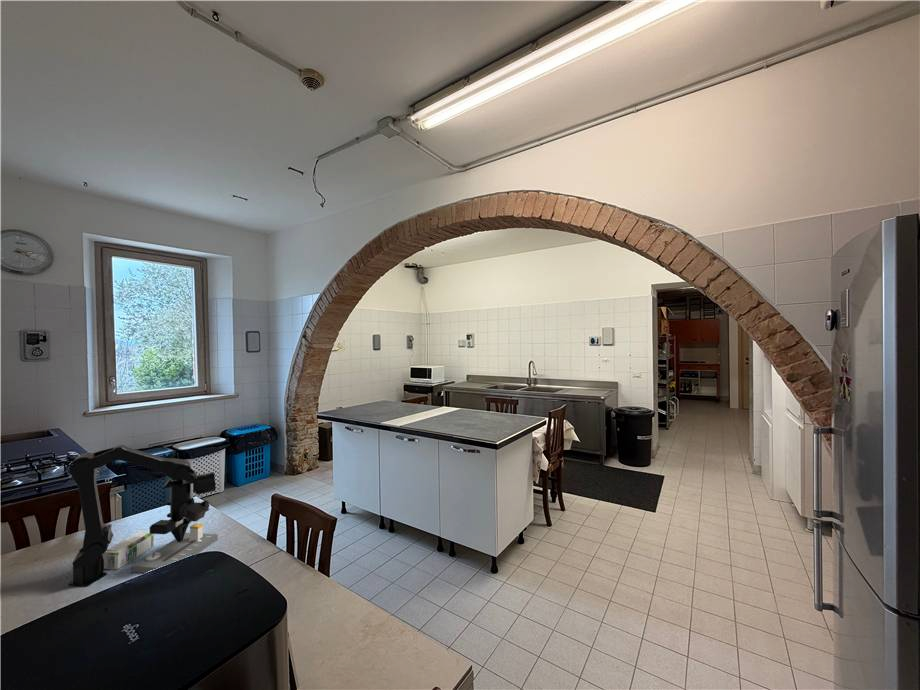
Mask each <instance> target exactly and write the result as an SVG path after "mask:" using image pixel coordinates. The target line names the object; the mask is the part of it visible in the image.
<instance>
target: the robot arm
mask: <svg viewBox="0 0 920 690" xmlns="http://www.w3.org/2000/svg"><path fill="white" fill-rule="evenodd" d="M116 461H122V462H125V463H129V464H132V465H136V466H140V467H143V468H147V469H151V470H154V471H158V472H160V473H161V474H163V475H165V476H166V477H168V480H167V481H166V482H165V483H164V484H163V489H169V488H170V495H169V497H170V500H169V501H168V502H166V506H170V507H169V508H170V509H169V513H167V514H166V518H170V519H160V520H158V521H156V522H154V523H152V524H151V525H150V526H149V531H150V534H154V535H166V534H169V533H171V534H172V536H173V537H174V540H175V539H176V540H177V542H181V541H182V540H183V538H184V535H185V533H187V529H188V526H189V525H190V524H191V523H192V522H195V523H196V522H198V521H199V520H200V519H203V518H205V515H206V512H209V510H210V502H209V501H208V500H204V501H201V502H195V498H194V497H191V492H192V493H195V494H196V495H203V494H208V493H213V492H216V485H217V484H216V476H215V475H216V474H215V472H214V471H212V472H209V473H203V474H197V472H196V471H195V470H193V468H192V464H191V462H190V461H189V460H187V459H182V458H171V457H170V458H168V457H167V458H166V457H162V456H159V455H155V454H152V453H149V452H145V451H142V450H138V449H135V448H132V447H128V446H127V445H124V444H119V445H116V446H113V447H110V448H106V449H105V448H104V449H102V450H98V451H95V452H84V453H81V454H79V455H77V456H76V457H75V459H73V461H72V462H71V463H70V464H69V466H68V471H69V472H68V473H69V474H70V476H71V478H72V480H73V482H74V483H75V485H76V486H77V487H78V493H79V500H80V506H81V512H82V519H83V525H84V536H83V542H82V544H83V545H82V547H81V548H80V549H79V550H78V551H77V554H76V556H75V557H74V559H73V562H72V563H71V564H72V581H70V582H68V583H67V586H74V587H76V586H77V587H88V586H90V585H91V584H93V583H96V581H98V580H100V579H102V578H103V577H105V576H107V575H108V572H106V571H105V569H104V559H103V554H104V553H105V551H106V550H107V549H109V548H108V547H109V544H111V543H112V540H113V537H114V533H113V531H112V523H109V524H108V525H106V524H105V523H104V520H103V515H102V509H101V503H100V496H99V490H98V485H97V477H98V470H99V468H101V467H103V466H106V465H109V464H110V463H113V462H116ZM191 490H192V491H191Z"/></svg>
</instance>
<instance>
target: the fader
mask: <svg viewBox="0 0 920 690" xmlns="http://www.w3.org/2000/svg"><path fill="white" fill-rule="evenodd" d="M189 533H190V540H199V539H200V538H202V537H203V534H204V523H199V522H195V523H193V524H192V525H190V526H189Z"/></svg>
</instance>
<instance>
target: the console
mask: <svg viewBox="0 0 920 690" xmlns="http://www.w3.org/2000/svg"><path fill="white" fill-rule="evenodd" d="M218 540H219V539H218V534H217V533H203V537H202V538H200V539H199V540H190V532H185V535H184V538H183V540H182V541H181V542H177V540H176V539H175V538H174V539H173V540H172V541H170V542H169V543H167V544H165V545H163V546H162V547H160V548H159V549H157V550H155V551H153V552H152V553H149V554H148V555H146V557H143V558H142V559H140V560H139V561H137V562H136V563H134V564H132V565H131V567H130V572H131V573H136V572H142V573H141V574H146V573H145V572H148V571H150V570H153V569H156V568H159V567H161V566H164V565H167V564H169V563H172V562H174V561H177V560H180V559H182V558H185V557H187V556H190V555H194V554H197V553H198V554H200V553H201V552H202V551H203V550H205V549H206V548H208V547H210V546H211V545H212V544H214V543H215V542H217V541H218ZM198 554H197V555H198Z"/></svg>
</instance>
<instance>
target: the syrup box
mask: <svg viewBox="0 0 920 690" xmlns="http://www.w3.org/2000/svg"><path fill="white" fill-rule="evenodd" d="M154 547H155V534H150V530H139V531H137V532H135V533H134V534H131V535H130V536H129V537H127V538H125V539H123V540H121V541H120V542H118V543H116V544H114V545H112V546H111V547H109V548H107V550H106V551H105V553H104V554H102V555H103V559H104V570H105V569H106V570H118V569H121V568H122V567H123V566H125V565H127V564H128V563H130V562H131V561H133V560H134V559H136V558H137V557H139V556H140V555H142V554H144V553H146V552H148V550H151V549H152V548H154Z"/></svg>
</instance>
